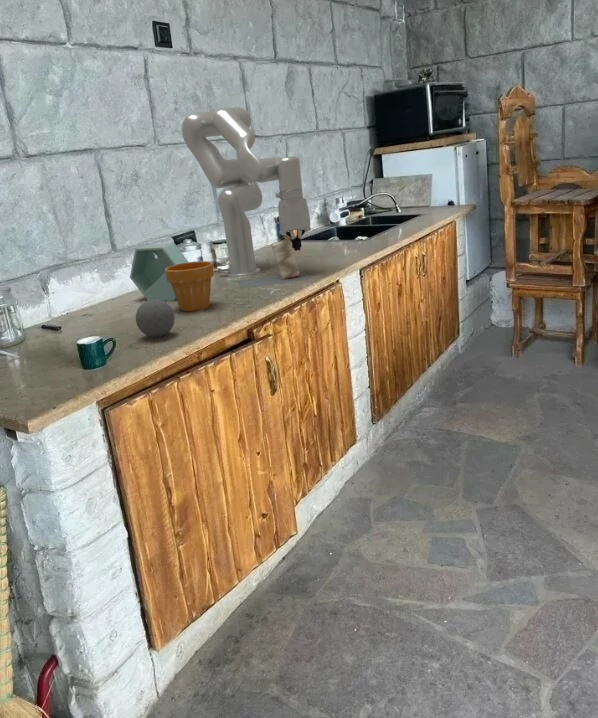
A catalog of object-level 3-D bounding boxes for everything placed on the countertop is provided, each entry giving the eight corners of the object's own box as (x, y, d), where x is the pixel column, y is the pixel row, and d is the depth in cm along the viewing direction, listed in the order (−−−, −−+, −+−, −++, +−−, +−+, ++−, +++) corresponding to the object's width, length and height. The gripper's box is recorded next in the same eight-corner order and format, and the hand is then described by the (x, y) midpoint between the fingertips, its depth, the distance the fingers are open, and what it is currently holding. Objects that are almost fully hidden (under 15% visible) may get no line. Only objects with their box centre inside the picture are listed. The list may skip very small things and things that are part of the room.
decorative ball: (175, 339, 177) (169, 301, 174) (136, 343, 177) (129, 306, 174) (178, 329, 187) (173, 293, 184) (142, 333, 186) (135, 297, 183)
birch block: (283, 279, 234) (273, 246, 230) (280, 276, 240) (270, 243, 236) (299, 274, 234) (290, 240, 231) (296, 271, 240) (287, 238, 236)
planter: (158, 314, 227) (119, 264, 225) (169, 308, 234) (132, 259, 232) (191, 285, 219) (151, 233, 217) (202, 280, 226) (163, 229, 224)
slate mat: (241, 289, 228) (240, 288, 228) (236, 282, 241) (236, 280, 241) (311, 279, 232) (311, 278, 231) (303, 272, 245) (303, 271, 245)
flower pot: (222, 300, 216) (216, 259, 212) (213, 311, 202) (207, 267, 198) (177, 304, 217) (171, 263, 213) (166, 315, 204) (159, 272, 200)
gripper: (271, 198, 225) (277, 254, 230) (315, 193, 227) (320, 248, 233) (267, 197, 232) (274, 251, 237) (310, 192, 234) (316, 245, 240)
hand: (297, 249), depth 235 cm, fingers closed
